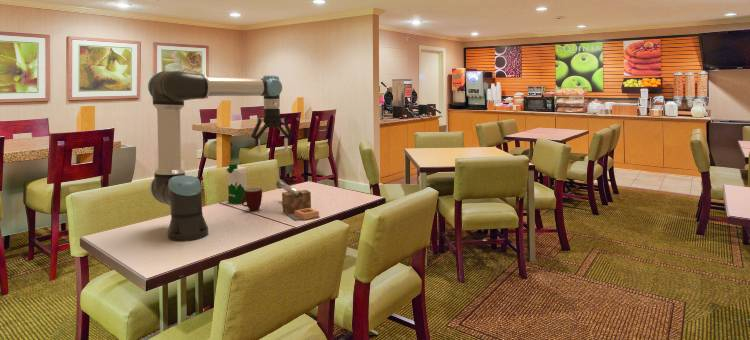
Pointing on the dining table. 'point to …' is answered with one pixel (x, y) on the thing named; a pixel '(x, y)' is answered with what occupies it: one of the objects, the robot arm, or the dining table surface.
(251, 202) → the mug
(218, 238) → the dining table surface
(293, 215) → the mat
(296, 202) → the cradle block
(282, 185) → the shaft
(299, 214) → the frame
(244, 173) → the milk carton
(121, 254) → the dining table surface
